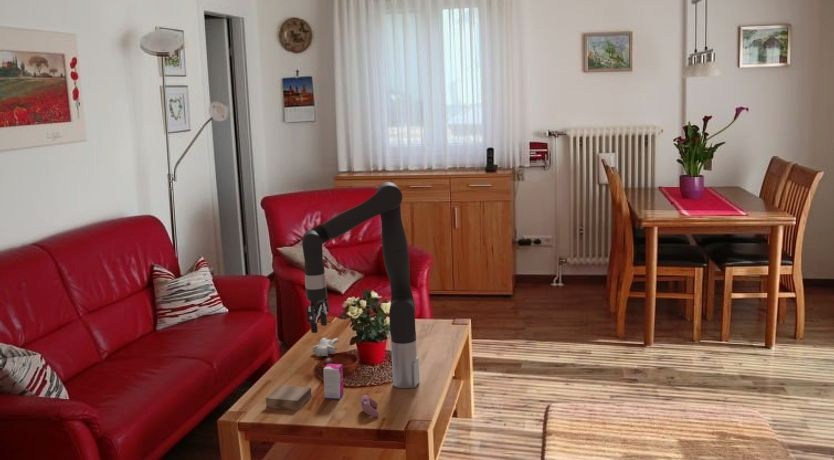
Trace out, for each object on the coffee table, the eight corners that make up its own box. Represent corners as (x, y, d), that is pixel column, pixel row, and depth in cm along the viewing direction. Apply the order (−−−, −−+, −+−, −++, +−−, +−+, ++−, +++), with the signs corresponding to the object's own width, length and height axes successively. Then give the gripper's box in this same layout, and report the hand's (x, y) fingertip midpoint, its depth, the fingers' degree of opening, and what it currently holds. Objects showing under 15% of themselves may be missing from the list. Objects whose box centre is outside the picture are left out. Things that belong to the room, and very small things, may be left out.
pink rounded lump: (367, 411, 294) (357, 394, 292) (378, 404, 294) (368, 388, 292) (368, 422, 284) (357, 406, 283) (380, 416, 284) (369, 399, 282)
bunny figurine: (308, 349, 343) (318, 333, 357) (310, 360, 345) (320, 344, 359) (331, 349, 342) (340, 333, 356) (332, 361, 343) (341, 344, 357)
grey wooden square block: (311, 398, 304) (310, 387, 303) (298, 411, 293) (297, 400, 292) (281, 395, 307) (280, 385, 306) (266, 408, 296) (265, 398, 295)
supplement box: (339, 400, 300) (338, 369, 298) (323, 399, 301) (322, 368, 299) (344, 393, 306) (342, 363, 304) (328, 393, 307) (327, 363, 305)
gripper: (317, 291, 294) (321, 335, 297) (333, 280, 308) (336, 323, 311) (297, 290, 297) (301, 334, 300) (314, 280, 310) (317, 322, 313)
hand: (319, 328), depth 305 cm, fingers open, 8 cm apart
